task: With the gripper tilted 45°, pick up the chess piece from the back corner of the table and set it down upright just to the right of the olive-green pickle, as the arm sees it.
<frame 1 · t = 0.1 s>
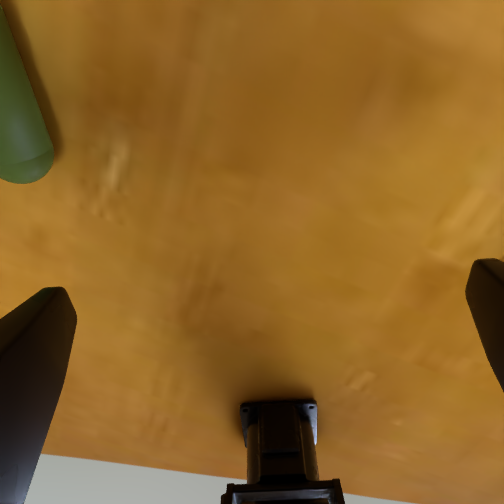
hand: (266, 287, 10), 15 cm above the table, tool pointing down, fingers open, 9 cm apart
pickle: (8, 80, 21), on the table
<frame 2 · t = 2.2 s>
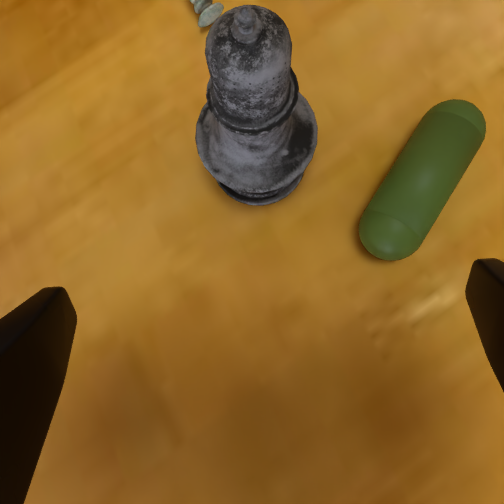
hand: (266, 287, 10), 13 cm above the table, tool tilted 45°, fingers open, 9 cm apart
pickle: (411, 189, 23), on the table
chess piece: (258, 160, 24), on the table
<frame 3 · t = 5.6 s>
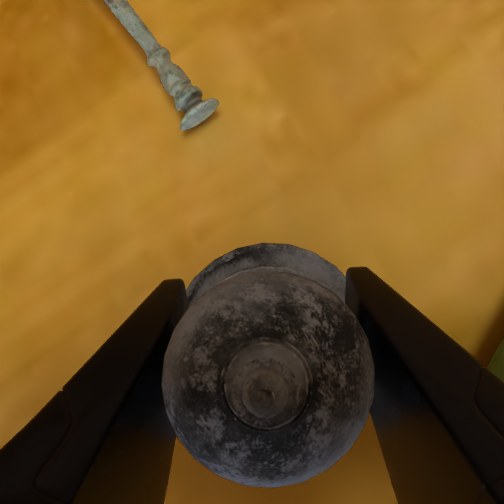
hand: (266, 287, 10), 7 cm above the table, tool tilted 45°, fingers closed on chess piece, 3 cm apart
chess piece: (271, 337, 16), on the table, touching gripper
when the fingers open (7 cm above the table, at t = 12.8 s): chess piece stays where it is, on the table.
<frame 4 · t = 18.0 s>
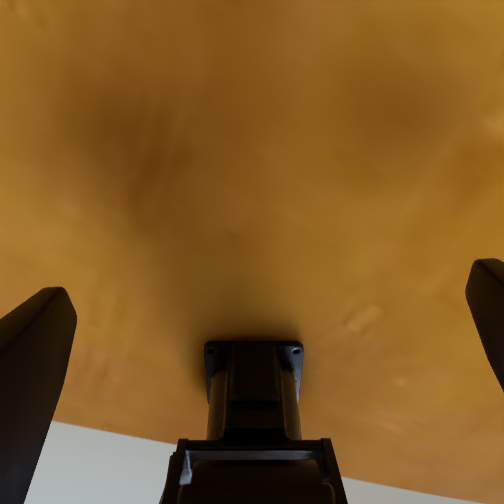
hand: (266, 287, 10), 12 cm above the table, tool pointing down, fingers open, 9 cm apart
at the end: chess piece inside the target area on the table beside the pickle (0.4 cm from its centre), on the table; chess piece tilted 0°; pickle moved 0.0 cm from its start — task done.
